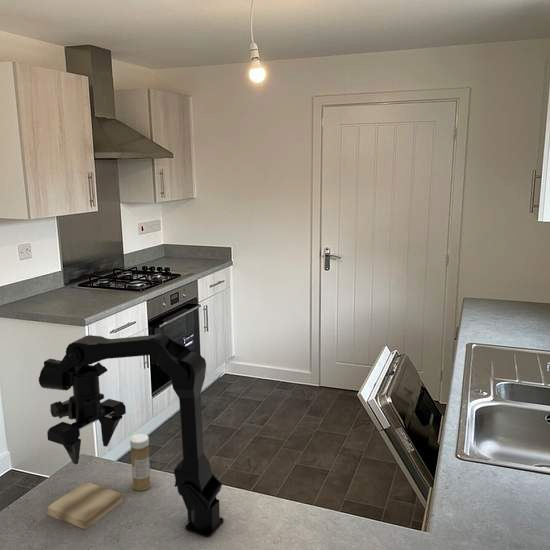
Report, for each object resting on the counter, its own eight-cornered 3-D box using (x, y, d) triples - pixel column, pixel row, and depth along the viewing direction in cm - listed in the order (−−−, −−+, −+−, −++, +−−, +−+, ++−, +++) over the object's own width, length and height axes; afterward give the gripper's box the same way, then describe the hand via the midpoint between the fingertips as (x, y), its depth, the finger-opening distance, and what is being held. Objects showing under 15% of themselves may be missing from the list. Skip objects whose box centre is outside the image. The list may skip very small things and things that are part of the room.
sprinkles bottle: (134, 482, 140) (131, 433, 137) (152, 481, 140) (149, 432, 138) (131, 492, 135) (128, 442, 133) (149, 491, 136) (147, 441, 133)
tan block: (122, 501, 132) (122, 493, 131) (85, 529, 121) (85, 521, 121) (86, 488, 137) (85, 481, 137) (47, 515, 126) (46, 507, 126)
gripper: (91, 372, 136) (95, 430, 138) (27, 399, 119) (33, 464, 122) (125, 380, 130) (129, 440, 133) (63, 409, 114) (68, 477, 117)
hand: (91, 454), depth 127 cm, fingers open, 9 cm apart
